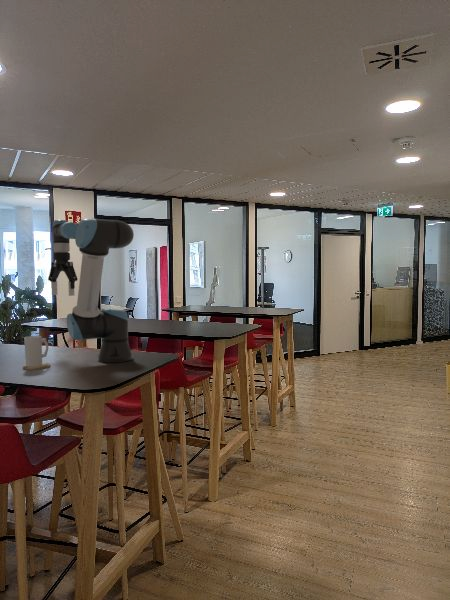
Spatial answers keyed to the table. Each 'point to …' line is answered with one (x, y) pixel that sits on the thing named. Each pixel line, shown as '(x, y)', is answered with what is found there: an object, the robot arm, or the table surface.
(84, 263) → the robot arm
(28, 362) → the mug
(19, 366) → the table surface
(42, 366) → the stand
